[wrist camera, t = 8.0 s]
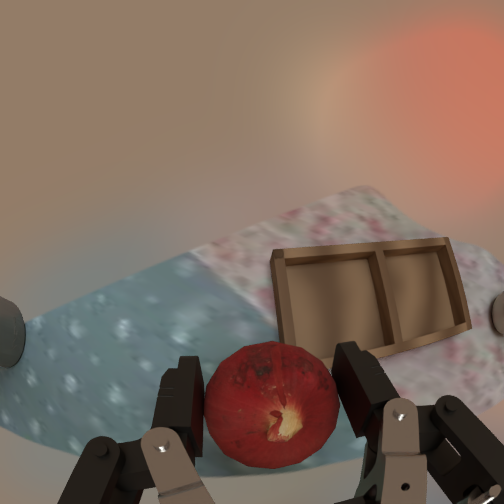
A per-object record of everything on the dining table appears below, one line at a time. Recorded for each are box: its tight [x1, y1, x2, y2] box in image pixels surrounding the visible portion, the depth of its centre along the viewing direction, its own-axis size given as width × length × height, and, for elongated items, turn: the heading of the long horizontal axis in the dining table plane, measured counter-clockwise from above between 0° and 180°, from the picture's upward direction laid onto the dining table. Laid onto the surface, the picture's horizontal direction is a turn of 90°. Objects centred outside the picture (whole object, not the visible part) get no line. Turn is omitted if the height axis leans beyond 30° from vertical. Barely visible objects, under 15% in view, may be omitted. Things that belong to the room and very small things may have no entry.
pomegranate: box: [204, 341, 340, 469], centre depth 11 cm, size 6×6×8 cm
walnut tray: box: [270, 237, 472, 369], centre depth 27 cm, size 23×12×3 cm, turn 96°
